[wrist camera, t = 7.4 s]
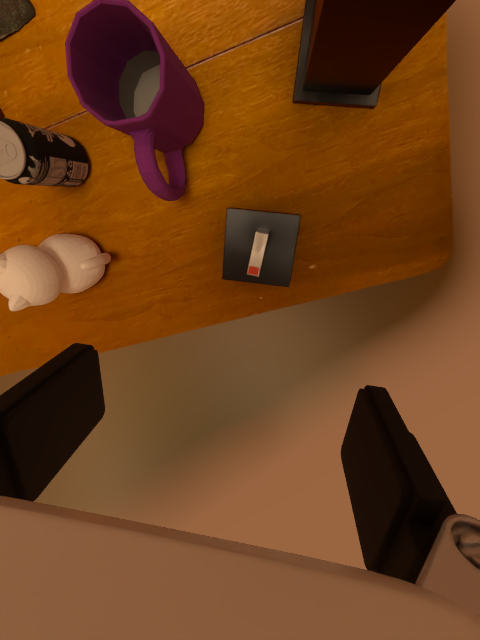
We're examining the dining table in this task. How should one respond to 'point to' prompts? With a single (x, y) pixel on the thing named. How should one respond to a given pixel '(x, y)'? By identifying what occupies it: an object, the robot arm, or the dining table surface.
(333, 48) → the stop pillar
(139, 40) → the mug
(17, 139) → the beverage can
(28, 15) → the tool
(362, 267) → the dining table surface
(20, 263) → the cat figurine
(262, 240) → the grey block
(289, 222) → the rotary switch block
